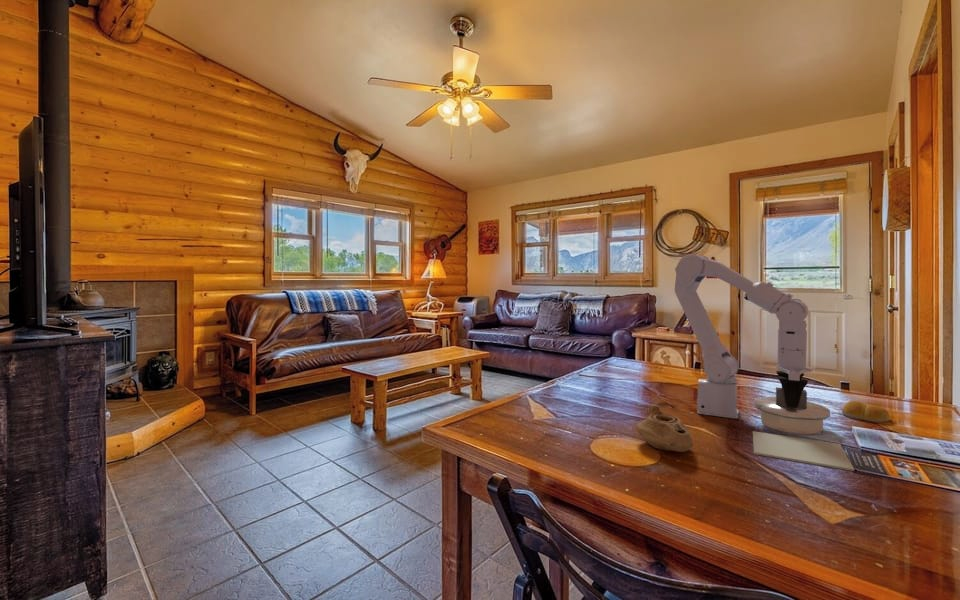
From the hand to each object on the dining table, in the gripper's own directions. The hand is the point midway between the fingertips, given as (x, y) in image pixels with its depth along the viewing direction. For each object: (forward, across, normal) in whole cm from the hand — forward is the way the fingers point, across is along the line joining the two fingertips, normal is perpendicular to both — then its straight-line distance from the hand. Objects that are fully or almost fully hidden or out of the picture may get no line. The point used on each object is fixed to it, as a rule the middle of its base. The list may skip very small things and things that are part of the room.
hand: (790, 403), depth 105 cm
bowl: (+6, 0, 0) cm, 6 cm away
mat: (+6, -17, 0) cm, 18 cm away
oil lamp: (+6, -29, +24) cm, 38 cm away
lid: (+2, 0, 0) cm, 2 cm away
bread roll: (+6, +17, -17) cm, 25 cm away
